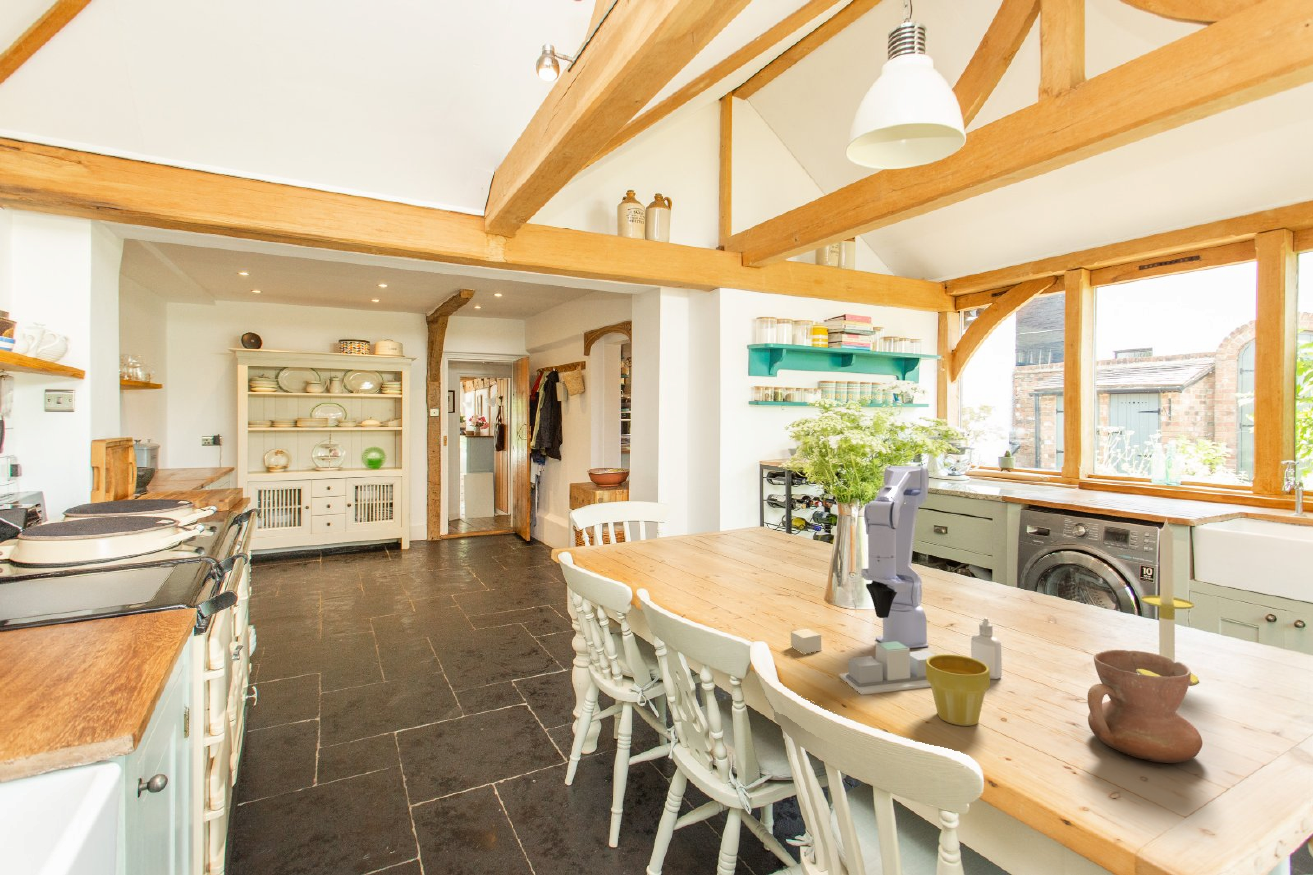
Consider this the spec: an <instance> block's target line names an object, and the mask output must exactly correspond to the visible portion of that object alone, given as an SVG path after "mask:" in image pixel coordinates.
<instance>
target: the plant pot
mask: <svg viewBox="0 0 1313 875" xmlns="http://www.w3.org/2000/svg"><path fill="white" fill-rule="evenodd" d="M926 678H927V680H928V682H929V683H930V684H931V687H930V688H931V691H932V696H933V699H934V703H935V709H936V713H937V715H938V717H939V718H940V719H941V720H943V721H944V722H947V723H949V724H952V725H955V726H959V727H960V726H961V727H969V726H975V725H977V724H978V723H979V721H980V716H981V711H982V707H983V702H984V699H985V693H986V691H987V690H989V689H990V681H991V679H990V670H989V667H988V666H987V665H986V664H984V663H983V662H981V661H979V660H976V659H973V658H971V657H969V656H965V655H958V654H949V653H948V654H944V653H943V654H936V655H935V654H934V656H931V657H929V658H927V660H926Z"/></svg>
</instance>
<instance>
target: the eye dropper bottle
mask: <svg viewBox="0 0 1313 875" xmlns="http://www.w3.org/2000/svg"><path fill="white" fill-rule="evenodd" d="M982 620H983V621H982V622H981V623H978V624H979V629H978V630H979V631H978V632H979V633H976V634H974V635H972V636H971V639H970V640H971V641H970V642H971V643H970V645H971V646H970V648H971V649H970V650H971V653H970V654H971V655H970V656H971V657H970V658H973V659H976V660H979V661H981V662H983V663H984V664H986V665H987V666H988V667H989V670H990V680H998V679H1001V678H1002V676H1003V675H1002V674H1003V673H1002V672H1003V671H1002V670H1003V669H1002V667H1003V666H1002V665H1003V664H1002V662H1003V661H1002V659H1003V658H1002V642H1001V640H999V639H998V638H997V637H995V636H993V630H994V629H993V624H991V623H990V622H989V619H988V617H983V619H982Z"/></svg>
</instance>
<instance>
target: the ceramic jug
mask: <svg viewBox="0 0 1313 875" xmlns="http://www.w3.org/2000/svg"><path fill="white" fill-rule="evenodd" d="M1093 661H1094V663H1093V664H1094V666H1095V670H1096V672H1097V676H1098V678H1099V681H1100V683H1095V684H1093V685H1092V686H1090V688H1089V689H1088V692H1087V705H1088V708H1089V709H1088V710H1089V713H1088V716H1087V722H1088V726H1089V728H1090V730H1091V733H1093V734H1094V736H1095V737H1097V738H1098V740H1100V741H1101V742H1102V743H1103V744H1105V745H1106V746H1109V747H1110V748H1112V749H1114V750H1116V751H1118V752H1121V753H1123V754H1126V755H1128V756H1131V757H1134V758H1136V759H1141V760H1145V761H1149V762H1154V763H1155V762H1156V763H1163V764H1166V763H1167V764H1174V763H1176V764H1177V763H1183V762H1187V761H1190V760H1192V759H1194V758H1195V757H1196V756H1197V755H1198V754H1199V753H1200V751H1201V749H1202V747H1203V738H1202V736H1201V734H1200V732H1199V731H1198V729H1197V728H1196V727H1195V726H1194V725H1193V723H1191V722H1189V721H1188V720H1187V719H1186V718H1184V717H1182V715H1180V714H1179V713H1177V712H1176V711H1177V710H1178V708H1179V707H1180V706H1181V704H1182V702H1183V700H1184V698H1185V696H1186V694H1187V692H1188V690H1189V686H1192V685H1191V684H1192V681H1191V679H1190V678H1191V672H1192V671H1191V669H1190V667H1188V665H1186V664H1185V663H1183V662H1181V661H1175V662H1174V661H1173V660H1172V659H1171V658H1169V657H1166V656H1162V655H1159V653H1158V654H1157V653H1153V652H1149V651H1141V650H1128V649H1110V650H1105V651H1100V652H1098V653H1095V654H1094V655H1093ZM1137 669H1144V670H1148V671H1151V672H1153V673H1155V674H1158V675H1160V676H1159V677H1157V676H1149V675H1142V674H1140V673H1138V672H1137ZM1161 676H1162V677H1161ZM1106 695H1107V696H1108V698H1109V699H1110V700H1108V701H1106V702H1103V699H1104V697H1105V696H1106Z"/></svg>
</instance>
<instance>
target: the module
mask: <svg viewBox="0 0 1313 875" xmlns="http://www.w3.org/2000/svg"><path fill="white" fill-rule="evenodd" d="M910 652H911V648H908V647H906V646H904V645H903V644H901V643H899V642H898V641H894V642H884V643H882V642H877V643H875V659H876V660H877V661H879V662H880V663H882V674H883V677H884V678H885V679H886V680H898V679H907V678H910Z"/></svg>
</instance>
